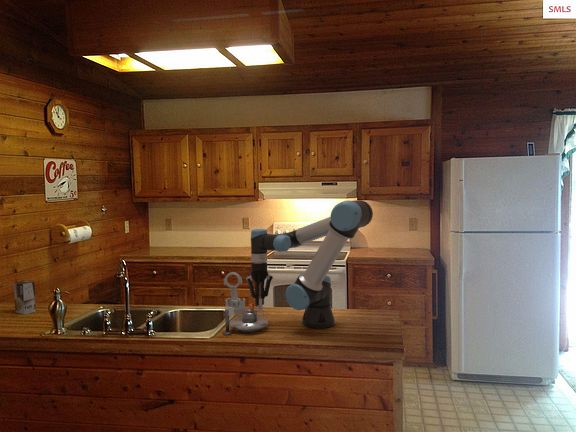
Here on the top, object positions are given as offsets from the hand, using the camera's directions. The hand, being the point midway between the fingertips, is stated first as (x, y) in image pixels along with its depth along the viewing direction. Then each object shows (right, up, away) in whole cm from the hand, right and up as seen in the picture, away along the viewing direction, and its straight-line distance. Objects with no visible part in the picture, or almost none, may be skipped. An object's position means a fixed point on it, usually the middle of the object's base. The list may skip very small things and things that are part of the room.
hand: (259, 311), depth 222 cm
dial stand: (-13, -7, -15) cm, 21 cm away
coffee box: (-125, -6, +27) cm, 128 cm away
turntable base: (-4, -6, -9) cm, 11 cm away
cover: (-4, -2, -9) cm, 10 cm away
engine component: (-14, -5, +23) cm, 27 cm away
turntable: (-4, -4, -9) cm, 11 cm away
